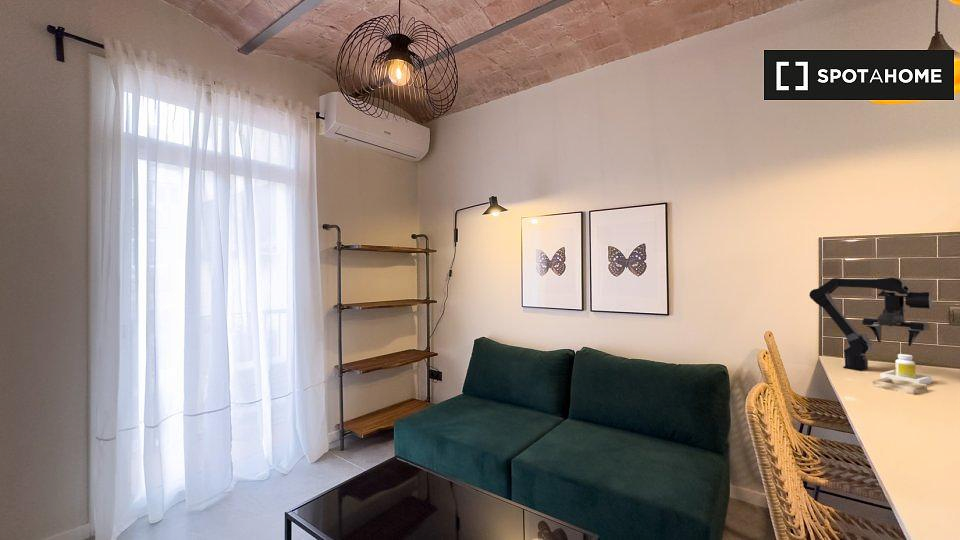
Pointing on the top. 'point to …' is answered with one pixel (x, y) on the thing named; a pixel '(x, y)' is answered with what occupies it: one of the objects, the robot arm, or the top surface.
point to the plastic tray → (918, 378)
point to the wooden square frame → (900, 385)
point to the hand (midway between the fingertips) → (894, 344)
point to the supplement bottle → (905, 366)
